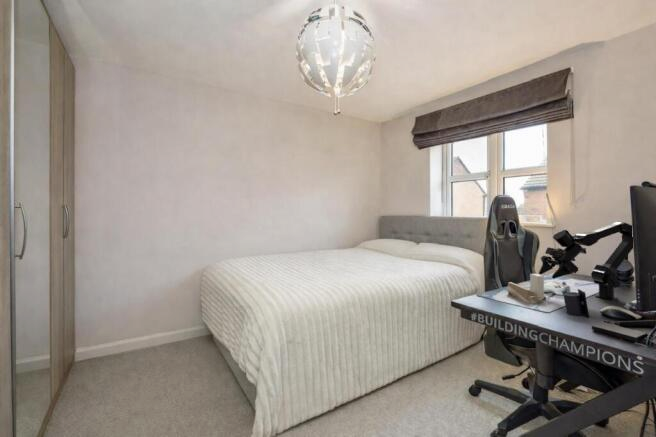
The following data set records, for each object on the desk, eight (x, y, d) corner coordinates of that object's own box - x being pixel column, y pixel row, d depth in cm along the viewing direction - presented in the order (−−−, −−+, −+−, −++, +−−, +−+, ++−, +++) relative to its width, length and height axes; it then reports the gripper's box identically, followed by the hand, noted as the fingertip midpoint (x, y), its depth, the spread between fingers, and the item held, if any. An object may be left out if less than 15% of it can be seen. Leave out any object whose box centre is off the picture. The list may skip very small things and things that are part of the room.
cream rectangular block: (536, 296, 150) (536, 273, 150) (543, 299, 145) (543, 276, 144) (530, 296, 150) (530, 273, 150) (537, 299, 145) (537, 276, 144)
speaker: (588, 313, 124) (585, 288, 124) (589, 318, 120) (586, 292, 120) (565, 311, 129) (562, 287, 129) (565, 315, 125) (562, 291, 125)
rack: (531, 293, 155) (531, 282, 155) (552, 302, 139) (553, 290, 139) (508, 293, 156) (508, 282, 156) (527, 302, 140) (527, 290, 140)
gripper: (544, 240, 156) (522, 261, 156) (572, 244, 137) (547, 267, 138) (559, 255, 156) (537, 276, 156) (589, 261, 137) (564, 284, 138)
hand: (545, 275), depth 147 cm, fingers open, 9 cm apart
